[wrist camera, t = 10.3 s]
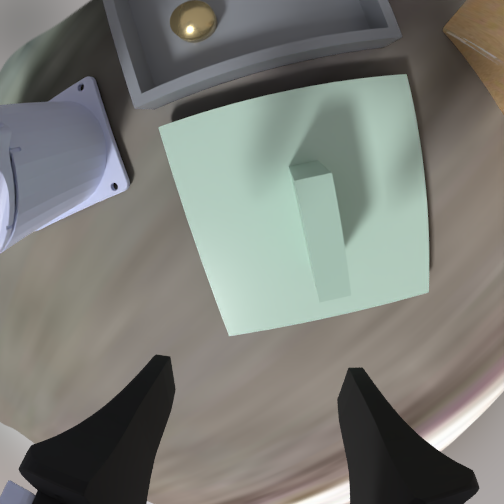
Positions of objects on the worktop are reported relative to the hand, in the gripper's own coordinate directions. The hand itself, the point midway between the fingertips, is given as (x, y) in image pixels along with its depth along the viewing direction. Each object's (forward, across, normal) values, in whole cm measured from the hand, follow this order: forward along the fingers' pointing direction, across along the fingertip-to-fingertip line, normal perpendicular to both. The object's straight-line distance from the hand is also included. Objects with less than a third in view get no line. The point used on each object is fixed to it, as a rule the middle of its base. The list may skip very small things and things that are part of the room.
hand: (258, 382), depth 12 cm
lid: (+9, -3, -5) cm, 10 cm away
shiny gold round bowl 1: (+9, +5, -15) cm, 18 cm away
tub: (+9, +3, -19) cm, 22 cm away
